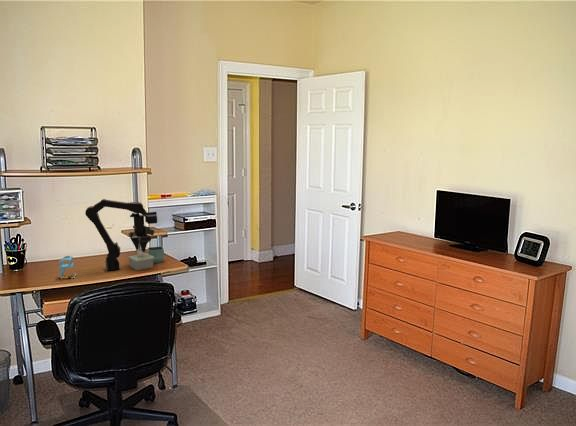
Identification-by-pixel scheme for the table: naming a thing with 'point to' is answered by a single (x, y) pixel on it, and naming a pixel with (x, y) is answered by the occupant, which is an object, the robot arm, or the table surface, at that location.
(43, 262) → the table surface
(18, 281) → the table surface
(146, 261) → the storage box
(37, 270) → the table surface
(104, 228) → the robot arm
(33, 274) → the table surface
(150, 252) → the flower pot
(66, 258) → the chair
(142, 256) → the lid
